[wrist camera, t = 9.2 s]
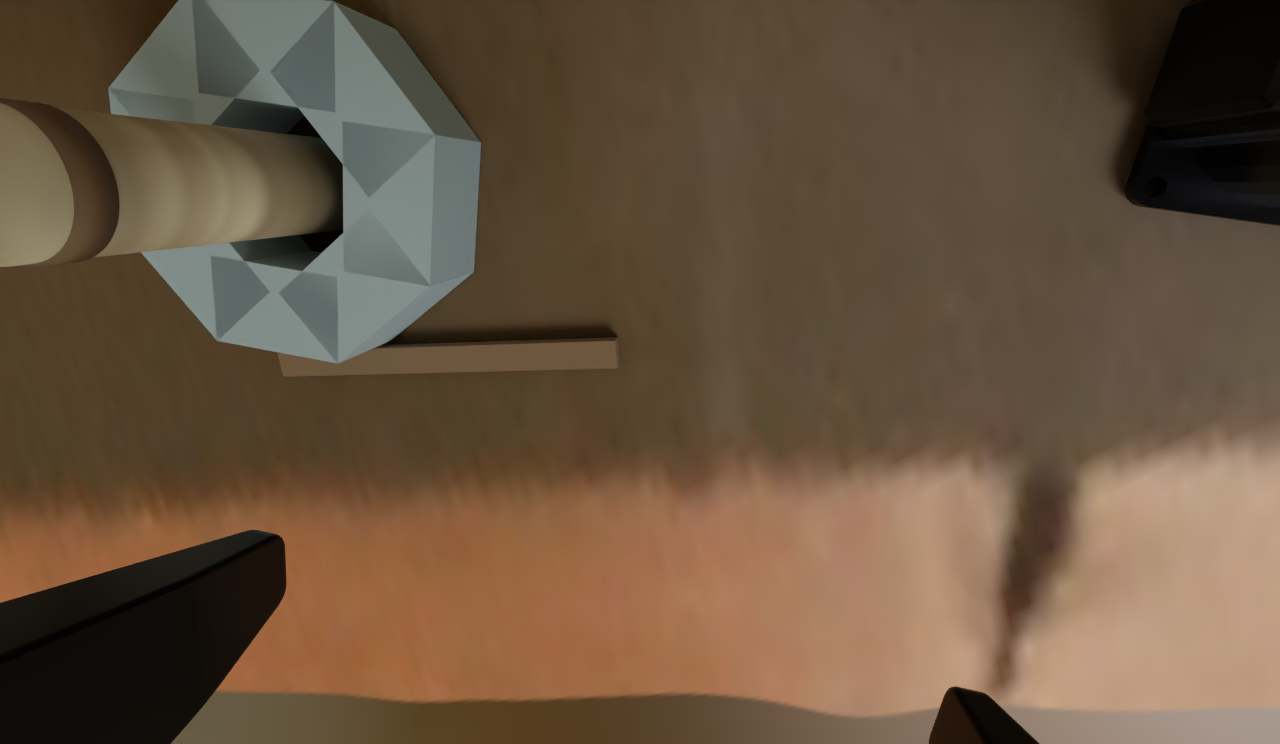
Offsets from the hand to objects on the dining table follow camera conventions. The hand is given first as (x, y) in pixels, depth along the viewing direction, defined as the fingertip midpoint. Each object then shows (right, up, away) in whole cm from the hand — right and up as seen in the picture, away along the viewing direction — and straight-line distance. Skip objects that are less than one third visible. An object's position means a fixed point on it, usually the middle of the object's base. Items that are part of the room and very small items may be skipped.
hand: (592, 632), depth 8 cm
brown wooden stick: (-6, +4, +13) cm, 15 cm away
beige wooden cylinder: (-9, +10, +12) cm, 18 cm away
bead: (-9, +9, +12) cm, 18 cm away
